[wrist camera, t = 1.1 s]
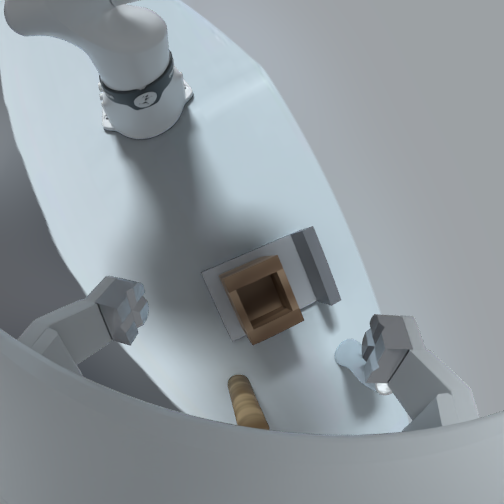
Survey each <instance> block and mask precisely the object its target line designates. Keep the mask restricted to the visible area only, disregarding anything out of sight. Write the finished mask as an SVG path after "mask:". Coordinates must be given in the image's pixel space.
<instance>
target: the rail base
mask: <svg viewBox="0 0 504 504" xmlns="http://www.w3.org/2000/svg"><path fill="white" fill-rule="evenodd" d="M271 255H278V257H279V259H280V262H281V264H282V266H283V269H284V271H285V274H286V276H287V279H288V281H289V284H290V286H291V288H292V291H293V293H294V296H295V298H296V301H297V303H298V306H299V308H300V309H302V308H304V307H306V306H308V305H310V304H312V303H314V302H316V301H319V302H322V303H325V304H328V305H333V304H335V303H337V302H339V301H340V300H341V298H340V295H339V292H338V290H337V287H336V284H335V281H334V279H333V276H332V273H331V271H330V268H329V265H328V263H327V260H326V258H325V255H324V252H323V250H322V247H321V245H320V242H319V240H318V237H317V235H316V232H315V230H314V228H313V226H312V227H309V228H306V229H303V230H299V231H297V232H295V233H292V234H290V235H288V236H285V237H283V238H281V239H278V240H276V241H274V242H271V243H269V244H267V245H264V246H262V247H260V248H257V249H255V250H253V251H250V252H248V253H246V254H243V255H241V256H239V257H236V258H234V259H232V260H229V261H227V262H225V263H222V264H220V265H218V266H215V267H213V268H211V269H209V270H206V271H204V272H202V273H201V274H202V276H203V279H204V281H205V283H206V285H207V288H208V290H209V292H210V294H211V297H212V299H213V301H214V303H215V306H216V308H217V310H218V312H219V314H220V316H221V319H222V321H223V323H224V325H225V327H226V329H227V331H228V334H229V336H230V338H231V340H232V341H235V340H237V339H239V338H241V337H244V336H246V334H245V332H244V331H243V329H242V327H241V325H240V323H239V320H238V318H237V316H236V314H235V312H234V309H233V307H232V305H231V303H230V301H229V298H228V296H227V294H226V291H225V289H224V287H223V285H222V282H221V280H220V278H219V275H220V274H223V273H225V272H227V271H230V270H232V269H234V268H236V267H239V266H241V265H243V264H246V263H248V262H250V261H253V260H255V259H257V258H259V257H262V256H271Z"/></svg>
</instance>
